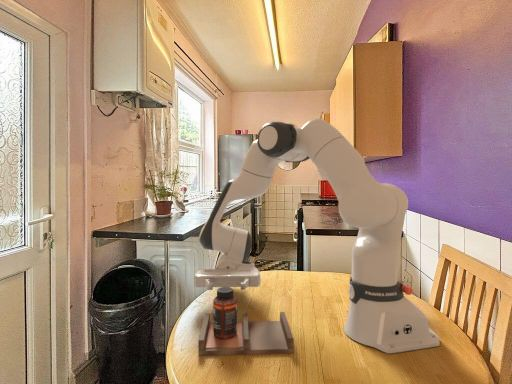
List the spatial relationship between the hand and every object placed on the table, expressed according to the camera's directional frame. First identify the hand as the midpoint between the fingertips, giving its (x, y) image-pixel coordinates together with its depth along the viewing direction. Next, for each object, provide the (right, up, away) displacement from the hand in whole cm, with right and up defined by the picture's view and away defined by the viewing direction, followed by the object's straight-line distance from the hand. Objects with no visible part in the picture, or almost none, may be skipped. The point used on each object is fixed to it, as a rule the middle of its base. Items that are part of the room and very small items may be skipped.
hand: (226, 287), depth 88 cm
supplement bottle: (+1, -9, -11) cm, 14 cm away
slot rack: (+6, -10, -10) cm, 15 cm away
